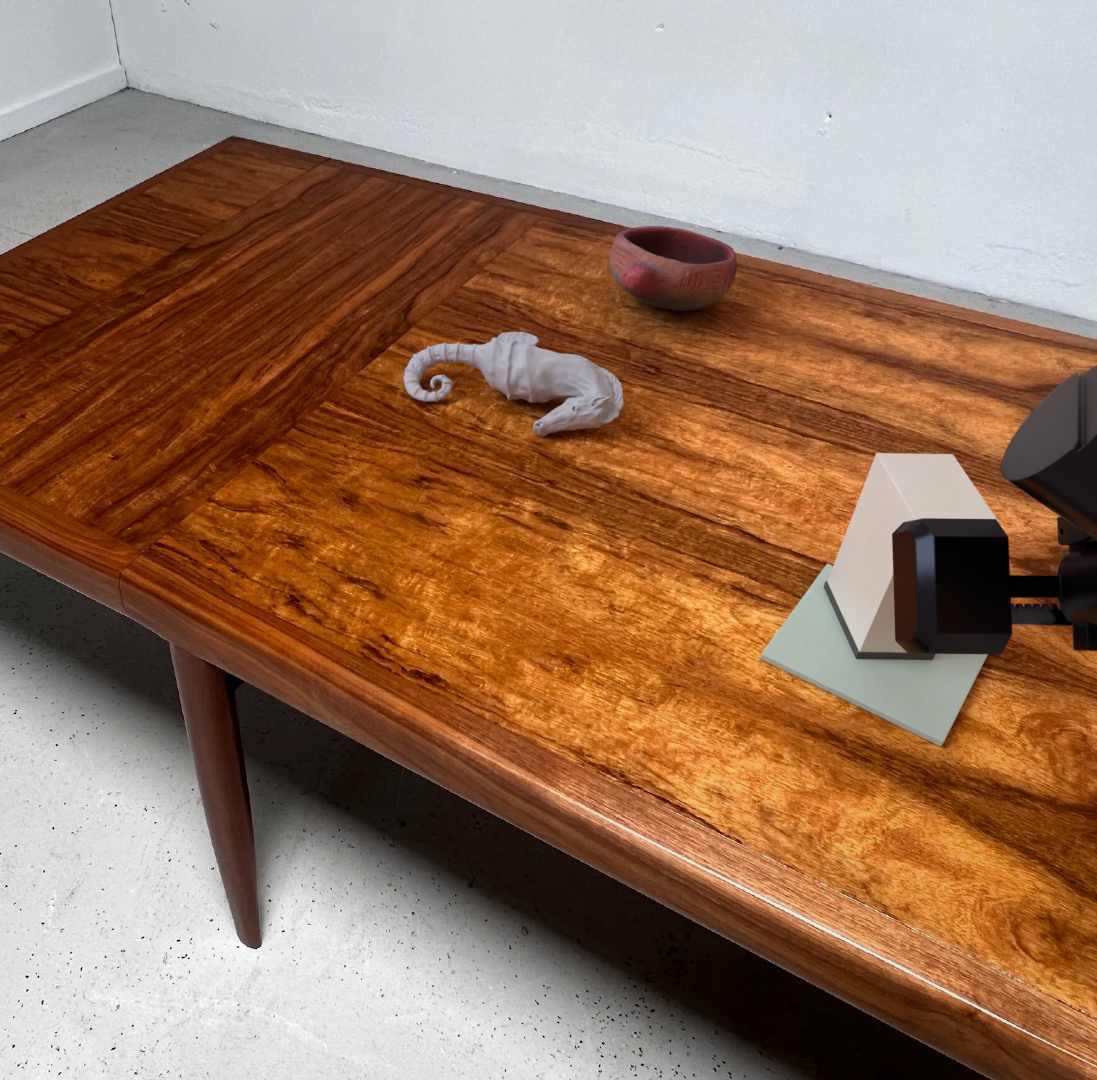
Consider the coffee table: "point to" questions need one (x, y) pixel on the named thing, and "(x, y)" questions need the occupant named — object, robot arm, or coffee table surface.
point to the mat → (871, 670)
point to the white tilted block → (866, 550)
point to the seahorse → (527, 379)
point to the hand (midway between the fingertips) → (1000, 594)
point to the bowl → (672, 267)
